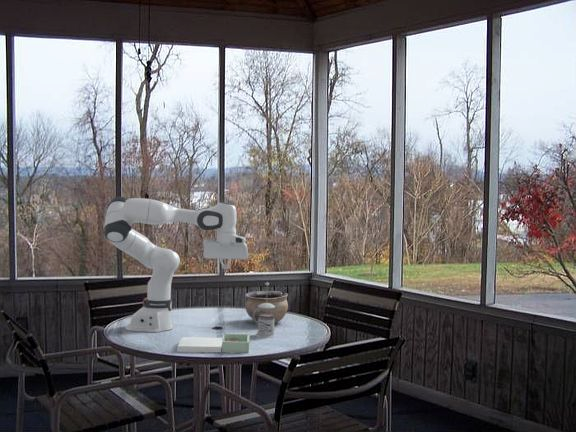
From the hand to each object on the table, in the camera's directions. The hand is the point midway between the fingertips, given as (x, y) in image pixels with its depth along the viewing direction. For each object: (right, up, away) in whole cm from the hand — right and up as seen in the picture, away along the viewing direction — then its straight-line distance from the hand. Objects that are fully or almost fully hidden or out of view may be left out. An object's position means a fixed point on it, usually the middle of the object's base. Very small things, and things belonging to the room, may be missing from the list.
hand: (225, 268), depth 292 cm
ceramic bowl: (+17, -31, +38) cm, 52 cm away
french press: (+17, -32, +10) cm, 38 cm away
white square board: (-9, -33, -16) cm, 37 cm away
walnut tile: (+4, -32, -12) cm, 35 cm away
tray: (+6, -33, -15) cm, 37 cm away
